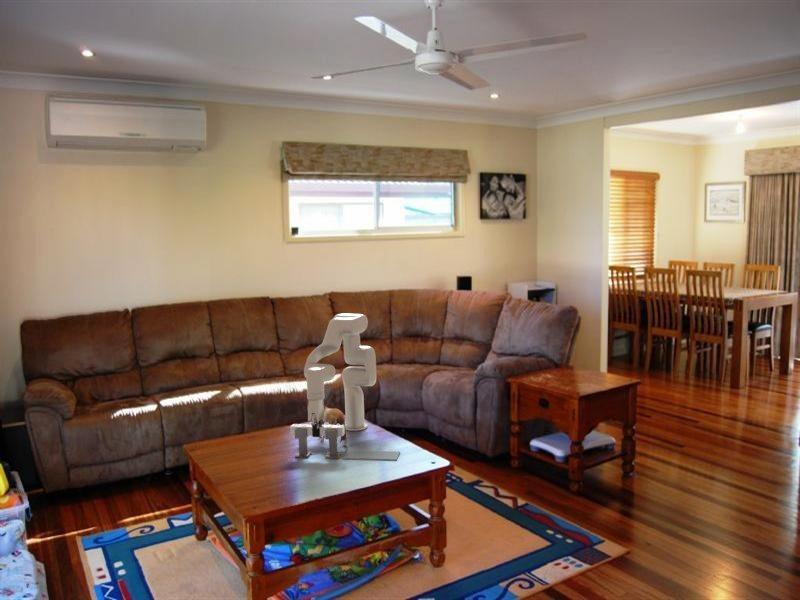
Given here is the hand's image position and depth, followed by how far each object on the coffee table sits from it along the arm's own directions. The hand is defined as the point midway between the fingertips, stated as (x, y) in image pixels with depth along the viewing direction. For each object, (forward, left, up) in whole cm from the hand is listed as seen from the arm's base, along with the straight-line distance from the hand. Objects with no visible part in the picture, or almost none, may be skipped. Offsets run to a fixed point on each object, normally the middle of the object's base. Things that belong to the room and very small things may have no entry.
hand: (317, 434), depth 301 cm
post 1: (0, -7, -10) cm, 12 cm away
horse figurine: (-16, -1, -10) cm, 19 cm away
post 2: (0, +7, -10) cm, 12 cm away
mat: (-2, +24, -10) cm, 26 cm away
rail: (0, 0, 0) cm, 0 cm away
